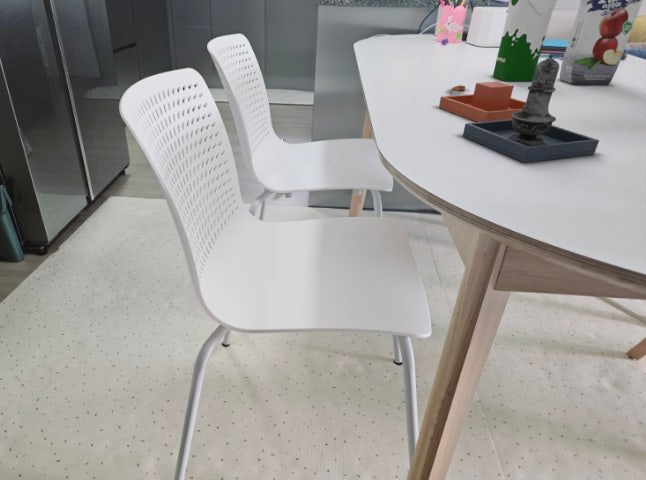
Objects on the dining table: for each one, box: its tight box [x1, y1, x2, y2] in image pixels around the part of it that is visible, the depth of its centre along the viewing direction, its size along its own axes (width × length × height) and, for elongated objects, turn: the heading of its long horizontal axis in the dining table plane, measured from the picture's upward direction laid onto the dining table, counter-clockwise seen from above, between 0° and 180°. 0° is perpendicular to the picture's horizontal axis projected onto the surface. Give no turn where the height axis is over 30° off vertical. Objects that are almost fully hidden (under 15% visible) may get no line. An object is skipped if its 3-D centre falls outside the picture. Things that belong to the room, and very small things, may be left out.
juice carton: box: [559, 0, 643, 86], centre depth 105 cm, size 9×10×27 cm
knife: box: [449, 84, 466, 96], centre depth 100 cm, size 13×1×3 cm
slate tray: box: [462, 119, 600, 163], centre depth 69 cm, size 12×13×2 cm
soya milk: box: [492, 0, 558, 82], centre depth 111 cm, size 9×9×20 cm
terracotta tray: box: [438, 93, 526, 122], centre depth 85 cm, size 12×13×2 cm
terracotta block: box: [471, 81, 514, 112], centre depth 84 cm, size 4×4×4 cm
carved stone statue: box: [507, 51, 560, 146], centre depth 66 cm, size 6×6×12 cm
